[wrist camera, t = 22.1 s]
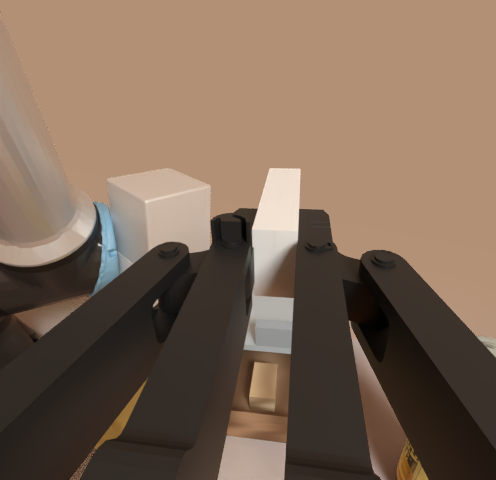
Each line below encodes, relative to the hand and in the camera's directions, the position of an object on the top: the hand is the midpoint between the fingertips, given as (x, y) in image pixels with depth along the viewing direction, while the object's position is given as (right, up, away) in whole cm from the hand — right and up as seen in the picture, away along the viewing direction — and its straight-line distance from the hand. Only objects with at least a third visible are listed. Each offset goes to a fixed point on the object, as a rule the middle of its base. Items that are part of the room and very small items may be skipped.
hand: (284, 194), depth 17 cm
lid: (+4, -14, +33) cm, 36 cm away
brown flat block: (+3, -22, +26) cm, 34 cm away
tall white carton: (-14, -18, +34) cm, 41 cm away
